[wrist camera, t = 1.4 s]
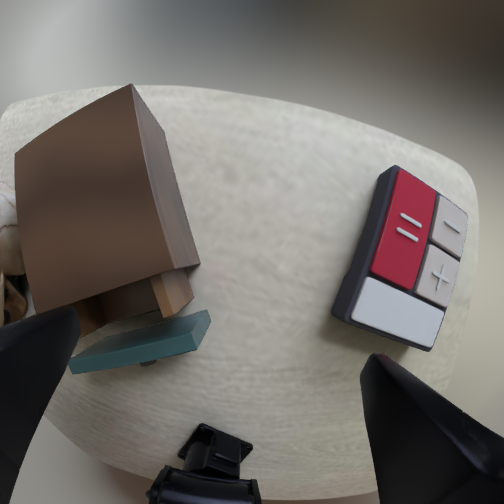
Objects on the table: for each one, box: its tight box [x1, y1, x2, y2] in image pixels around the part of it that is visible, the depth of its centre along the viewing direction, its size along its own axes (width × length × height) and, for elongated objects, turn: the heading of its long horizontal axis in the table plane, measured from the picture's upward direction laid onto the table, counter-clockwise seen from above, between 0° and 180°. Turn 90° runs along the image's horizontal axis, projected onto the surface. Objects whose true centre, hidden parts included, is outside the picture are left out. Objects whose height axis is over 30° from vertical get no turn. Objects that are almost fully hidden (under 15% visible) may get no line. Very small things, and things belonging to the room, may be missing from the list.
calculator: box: [331, 165, 468, 352], centre depth 23 cm, size 11×4×15 cm
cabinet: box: [15, 84, 200, 314], centre depth 20 cm, size 14×12×9 cm
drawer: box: [67, 268, 211, 374], centre depth 20 cm, size 14×11×7 cm
